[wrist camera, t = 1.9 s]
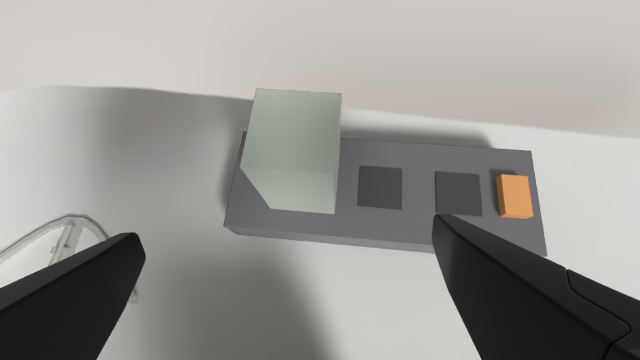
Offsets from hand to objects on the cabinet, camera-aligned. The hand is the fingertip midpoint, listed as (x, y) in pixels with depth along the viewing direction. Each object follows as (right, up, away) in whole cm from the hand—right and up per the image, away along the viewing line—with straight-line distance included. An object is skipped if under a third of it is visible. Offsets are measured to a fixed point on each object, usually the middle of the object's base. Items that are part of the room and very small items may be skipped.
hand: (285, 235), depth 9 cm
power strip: (+5, 0, +14) cm, 15 cm away
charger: (0, +1, +14) cm, 14 cm away
